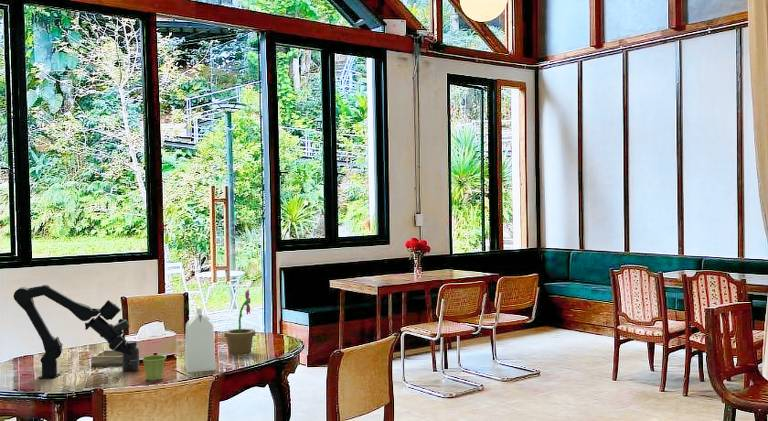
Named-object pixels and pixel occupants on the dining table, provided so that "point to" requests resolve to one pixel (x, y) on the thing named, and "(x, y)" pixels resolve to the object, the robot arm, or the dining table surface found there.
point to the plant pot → (154, 366)
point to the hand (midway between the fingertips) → (131, 352)
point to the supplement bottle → (131, 357)
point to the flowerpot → (240, 334)
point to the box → (107, 358)
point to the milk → (199, 344)
